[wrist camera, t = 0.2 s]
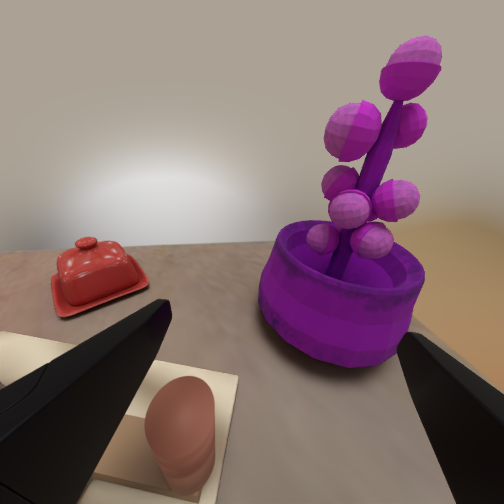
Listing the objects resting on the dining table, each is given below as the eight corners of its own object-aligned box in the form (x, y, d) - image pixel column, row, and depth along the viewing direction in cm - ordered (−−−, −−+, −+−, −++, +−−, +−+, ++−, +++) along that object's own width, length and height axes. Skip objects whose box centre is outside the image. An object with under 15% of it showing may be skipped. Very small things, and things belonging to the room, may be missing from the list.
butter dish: (59, 327, 25) (26, 273, 21) (53, 280, 32) (27, 232, 28) (153, 290, 32) (143, 244, 28) (131, 258, 39) (121, 217, 35)
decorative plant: (266, 392, 21) (404, -155, 5) (249, 279, 36) (271, 57, 21) (424, 379, 23) (812, -14, 8) (344, 279, 39) (425, 81, 24)
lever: (-115, 458, 13) (-287, 391, 9) (-20, 381, 18) (-103, 308, 13) (201, 537, 12) (191, 505, 7) (222, 433, 16) (224, 370, 11)
